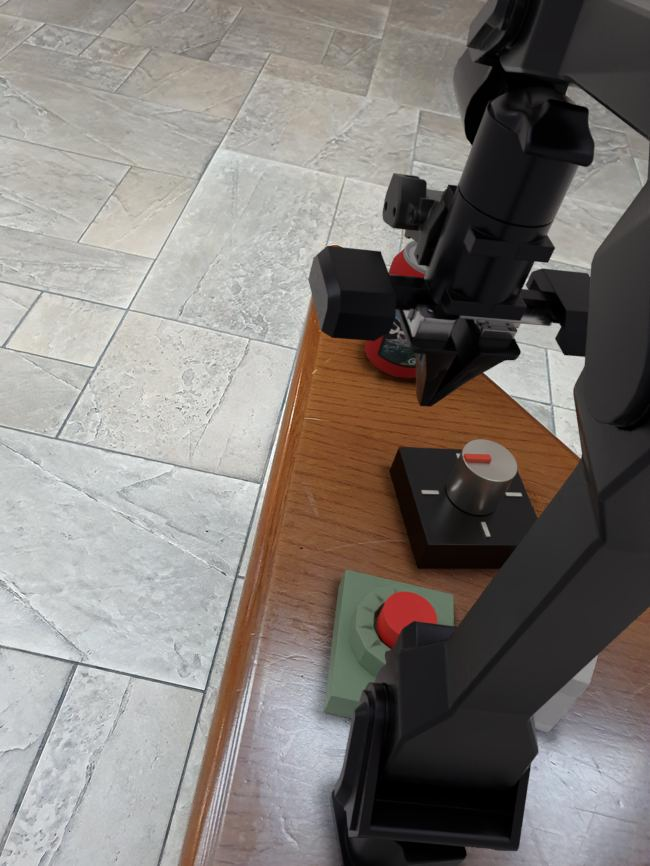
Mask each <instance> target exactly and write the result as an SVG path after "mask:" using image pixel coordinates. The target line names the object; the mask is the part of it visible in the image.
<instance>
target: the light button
mask: <svg viewBox="0 0 650 866" xmlns="http://www.w3.org/2000/svg"><path fill="white" fill-rule="evenodd" d="M413 621H418V622H426V623H433V624H437V615H436V612H435V610H434V608H433V606H432V605H431V604H430V603H429V602H428V601H427V600H426V599H425V598H423V597H422V596H420V595H418V594H415V593H412V592H398V593H395V594H393V595H391V596H390V597H389V598H388V599H387V600H386V602H385V604H384V606H383V608H382V610H381V612H380V614H379V616H378V619H377V630H378V634H379V636H380V638H381V639H382V640H383V642H384V643H385V644H386V645H387V646H389V647H390V648H391V649H392V648H393V646H394V645H395V643H396V641H397V639H398V637H399V635H400V632H401V630H402V629H403V628H404V627H405V626H407V625H408V624H410V623H411V622H413Z"/></svg>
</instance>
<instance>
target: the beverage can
mask: <svg viewBox="0 0 650 866" xmlns="http://www.w3.org/2000/svg"><path fill="white" fill-rule="evenodd" d="M416 246H417V242H416V241H414V240H411V241H409V242H408V243H407V244H406V245H405V247H404V248H403V249H402V250H401V251H399V252H398V253H397V254H396V255H395V256H394V257H393V259H392V261H391V264H390V266H389V269H388V273H389V274H392V275H402V276H412V277H423V278H424V277H425V274H426V271H427V268H426V266H423V265H418V263H417V261H416V258H415V256H414V252H415V249H416ZM364 353H365V355H366V357H367V358H368V360H369V361H370V363H371V364H372V365H373V366H375V367H376V368H377V369H378V370H380V371H381V372H383V373H385V374H387V375H389V376H392V377H395V378H403V379H414V378H415V379H416V361H415V352H413V351H412V350H410V348H409V346H408V344H407V341H406V338H405V335H404V332H403V330H402V327H401V324H400V321H399V318H398V316H397V313H396V315H395V320H394V323H393V325H392V328H391V331H390V332H389V333H387V334H385V335H384V336H382V337H380V338H378V339H377V340H375V341H368V340H365V343H364Z"/></svg>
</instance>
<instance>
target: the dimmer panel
mask: <svg viewBox="0 0 650 866" xmlns="http://www.w3.org/2000/svg"><path fill="white" fill-rule="evenodd" d="M462 449H463V448H462ZM462 449H461V448H442V447H441V448H440V447H415V446H414V447H413V446H399V447H398V448H397V450H396V453H395V455H394V458H393V460H392V463H391V466H390V468H389V470H388V472H389V476H390V479H391V481H392V483H391V484H392V486H393V490H394V493H395V497H396V499H397V503H398V507H399V510H400V514H401V518H402V522H403V524H404V528H405V531H406V534H407V539H408V542H409V547H410V549H411V552H412V556H413V560H414V563H415V566H416V569H501V567H502V566H503V565H504V563H505V562H506V560H507V559H508V558H509V556H510V555H511V554H512V552H513V551H514V550H515V548H516V547H517V546H518V544H519V543H520V542H521V540H522V539H523V538H524V536H525V535H526V534H527V532H528V531H529V530H530V528H531V527H532V526H533V524H534V523H535V522H536V520H537V519H538V518H539V516H538V515H537V513H536V511H535V510H536V509H535V508H534V505H533V503H532V501H531V499H530V497H529V494H528V492H527V489H526V487H525V485H524V483H523V480H522V477H521V475H520V473H519V470H518V469H517V473H516V475H515V477H514V479H513V480H512V482H511V484H510V486H509V488H508V489H507V491H506V493H505V495H504V497H503V498H502V500H501V502H500V504H499V506H498V507H497V509H496V510H495V511H494V512H492V513H490V514H487V515H474V514H470V513H467V512H465V511H463V510H461V509H460V508H458V507H457V506H456V505H455V504H454V503H453V502H452V501H451V500H450V498H449V497H448V494H447V491H446V483H447V481H448V479H449V476H450V474H451V472H452V470H453V468H454V466H455V464H456V462H457V460H458V458H459V456H460V454H461V451H462Z"/></svg>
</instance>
